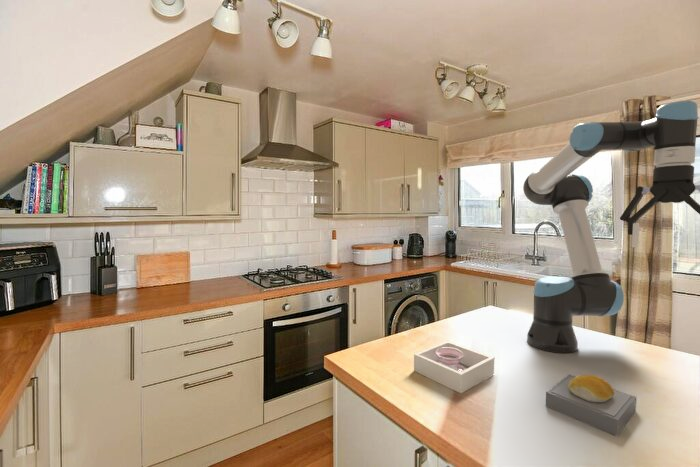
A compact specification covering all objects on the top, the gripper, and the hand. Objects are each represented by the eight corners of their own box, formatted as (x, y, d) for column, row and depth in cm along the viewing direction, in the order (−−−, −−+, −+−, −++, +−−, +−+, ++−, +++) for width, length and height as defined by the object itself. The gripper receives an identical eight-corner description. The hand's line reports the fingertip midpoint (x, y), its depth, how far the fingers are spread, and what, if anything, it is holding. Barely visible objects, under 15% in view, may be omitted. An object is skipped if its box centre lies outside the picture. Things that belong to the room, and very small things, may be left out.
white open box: (413, 370, 101) (413, 354, 100) (447, 356, 111) (447, 340, 110) (460, 393, 88) (461, 374, 88) (493, 374, 98) (494, 357, 98)
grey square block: (545, 406, 82) (546, 391, 82) (568, 387, 91) (569, 373, 91) (617, 436, 71) (617, 419, 71) (635, 411, 80) (636, 396, 79)
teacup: (463, 387, 91) (463, 365, 91) (421, 376, 98) (421, 355, 97) (474, 370, 101) (475, 349, 101) (435, 360, 108) (435, 341, 107)
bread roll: (618, 395, 80) (619, 379, 80) (602, 407, 75) (602, 390, 75) (579, 380, 87) (580, 365, 87) (561, 391, 82) (562, 375, 82)
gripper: (608, 169, 94) (605, 246, 95) (747, 158, 74) (740, 255, 76) (617, 171, 99) (613, 244, 100) (750, 161, 79) (743, 252, 80)
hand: (668, 249), depth 88 cm, fingers open, 13 cm apart
